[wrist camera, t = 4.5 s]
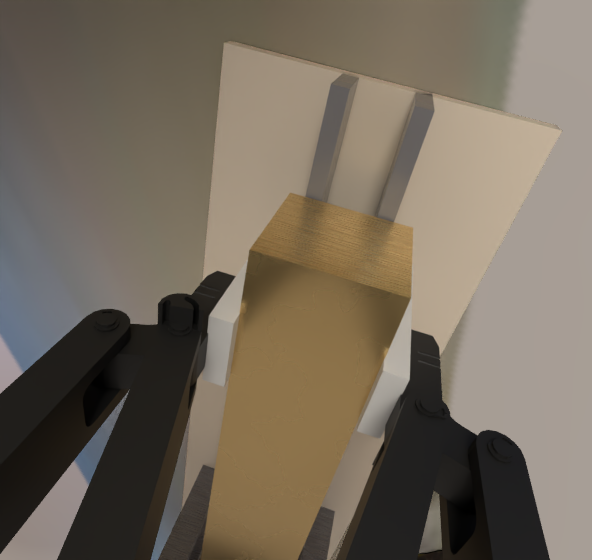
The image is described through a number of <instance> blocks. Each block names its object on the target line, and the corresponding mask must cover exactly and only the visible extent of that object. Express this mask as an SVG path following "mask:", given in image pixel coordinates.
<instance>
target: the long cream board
mask: <svg viewBox="0 0 592 560" xmlns="http://www.w3.org/2000/svg"><path fill="white" fill-rule="evenodd" d="M561 132H562V130H561V129H560V128H559V127H558V126H557V125H553V124H549V123H546V122H542V121H538V120H534V119H530V118H526V117H522V116H519V115H515V114H511V113H507V112H503V111H500V110H496V109H492V108H488V107H484V106H480V105H476V104H473V103H469V102H465V101H461V100H457V99H453V98H449V97H446V96H442V95H438V94H434V93H430V92H426V91H422V90H419V89H415V88H411V87H407V86H403V85H399V84H395V83H392V82H388V81H384V80H380V79H376V78H372V77H368V76H365V75H361V74H357V73H353V72H349V71H345V70H342V69H338V68H334V67H330V66H326V65H322V64H318V63H315V62H311V61H307V60H303V59H299V58H295V57H291V56H288V55H284V54H280V53H276V52H272V51H268V50H264V49H261V48H257V47H253V46H249V45H245V44H241V43H237V42H234V41H230V42H225V43H224V47H223V58H222V69H221V80H220V92H219V103H218V114H217V125H216V136H215V147H214V158H213V169H212V180H211V191H210V202H209V213H208V224H207V235H206V246H205V257H204V268H203V280H204V279H205V278H206V276H208V275H210V274H212V273H214V272H216V271H220V272H224V273H227V274H230V275H233V276H236V275H237V274H238V273H239V271H240V270H241V268H242V267H243V265H244V264H245V262H246V261H247V259H248V256H249V250H250V248H251V247H252V245H253V244H254V243H255V241H256V240H257V238H258V237H259V236H260V234H261V233H262V231H263V230H264V229H265V227H266V226H267V224H268V223H269V222H270V220H271V219H272V217H273V216H274V215H275V213H276V212H277V210H278V209H279V207H280V206H281V205H282V203H283V202H284V200H285V199H286V198H287V196H288V195H289V193H294V194H297V195H301V196H304V197H308V198H311V199H315V200H318V201H322V202H325V203H329V204H332V205H336V206H339V207H343V208H346V209H350V210H353V211H357V212H360V213H364V214H367V215H371V216H374V217H378V218H381V219H385V220H388V221H392V222H395V223H399V224H402V225H406V226H409V227H413V251H412V264H413V287H412V320H411V329H412V330H415V331H419V332H422V333H425V334H428V335H432V336H433V337H434V339H435V340H436V342H437V344H438V346H439V351H440V356H441V354H442V352H443V350H444V348H445V347H446V345H447V343H448V341H449V339H450V337H451V336H452V334H453V332H454V330H455V328H456V326H457V324H458V323H459V321H460V319H461V317H462V315H463V313H464V312H465V310H466V308H467V306H468V304H469V302H470V300H471V299H472V297H473V295H474V293H475V291H476V289H477V288H478V286H479V284H480V282H481V280H482V278H483V276H484V275H485V273H486V271H487V269H488V267H489V265H490V264H491V261H492V260H493V258H494V256H495V254H496V252H497V251H498V249H499V247H500V245H501V243H502V241H503V239H504V238H505V236H506V234H507V232H508V230H509V228H510V227H511V225H512V223H513V221H514V219H515V217H516V215H517V214H518V212H519V210H520V208H521V206H522V204H523V203H524V201H525V199H526V197H527V195H528V193H529V192H530V190H531V188H532V186H533V184H534V182H535V180H536V178H537V177H538V175H539V173H540V171H541V169H542V168H543V166H544V164H545V162H546V160H547V158H548V156H549V155H550V153H551V150H552V149H553V147H554V145H555V144H556V142H557V140H558V138H559V136H560V134H561ZM203 280H202V281H203ZM202 377H203V371H202V372H201V374H200V376H199V377H198V379H197V386H196V392H195V395H194V399H193V403H192V407H191V412H190V423H189V434H188V445H187V456H186V468H185V479H184V490H183V501H182V508H183V506H184V504H185V502H186V500H187V498H188V495H189V493H190V491H191V489H192V487H193V485H194V483H195V481H196V479H197V476H198V474H199V472H200V470H201V468H202V466H203V465H206V466H209V467H211V468H214V469H215V464H216V458H217V452H218V445H219V439H220V433H221V426H222V420H223V414H224V407H225V401H226V395H227V388H228V382H229V379H228V381H227V383H226V385H225V386H224V387H223V386H220V385H217V384H214V383H211V382H208V381H205V380H202ZM357 425H358V422H357V424H356V426H355V429H354V431H353V433H352V436H351V438H350V440H349V443H348V445H347V447H346V449H345V452H344V454H343V456H342V459H341V461H340V463H339V466H338V468H337V470H336V472H335V475H334V477H333V479H332V482H331V484H330V486H329V489H328V491H327V493H326V495H325V498H324V500H323V502H322V505H321V506H322V507H325V508H328V509H331V510H333V511H335V514H334V520H333V526H332V532H331V538H330V544H329V550H328V556H327V560H330V559H331V557H332V555H333V553H334V551H335V550H336V548H337V546H338V544H339V542H340V540H341V538H342V537H343V535H344V533H345V531H346V529H347V527H348V526H349V524H350V522H351V520H352V518H353V516H354V513H355V511H356V508H357V506H358V503H359V501H360V498H361V495H362V493H363V490H364V488H365V485H366V483H367V480H368V478H369V475H370V472H371V470H372V467H373V465H372V463H373V461H374V459H375V457H376V456H377V454H378V452H379V450H380V448H381V446H382V444H383V442H384V436H385V430H384V432H383V434H382V436H381V438H380V439H379V438H376V437H373V436H370V435H367V434H364V433H361V432H358V431H357Z"/></svg>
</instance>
